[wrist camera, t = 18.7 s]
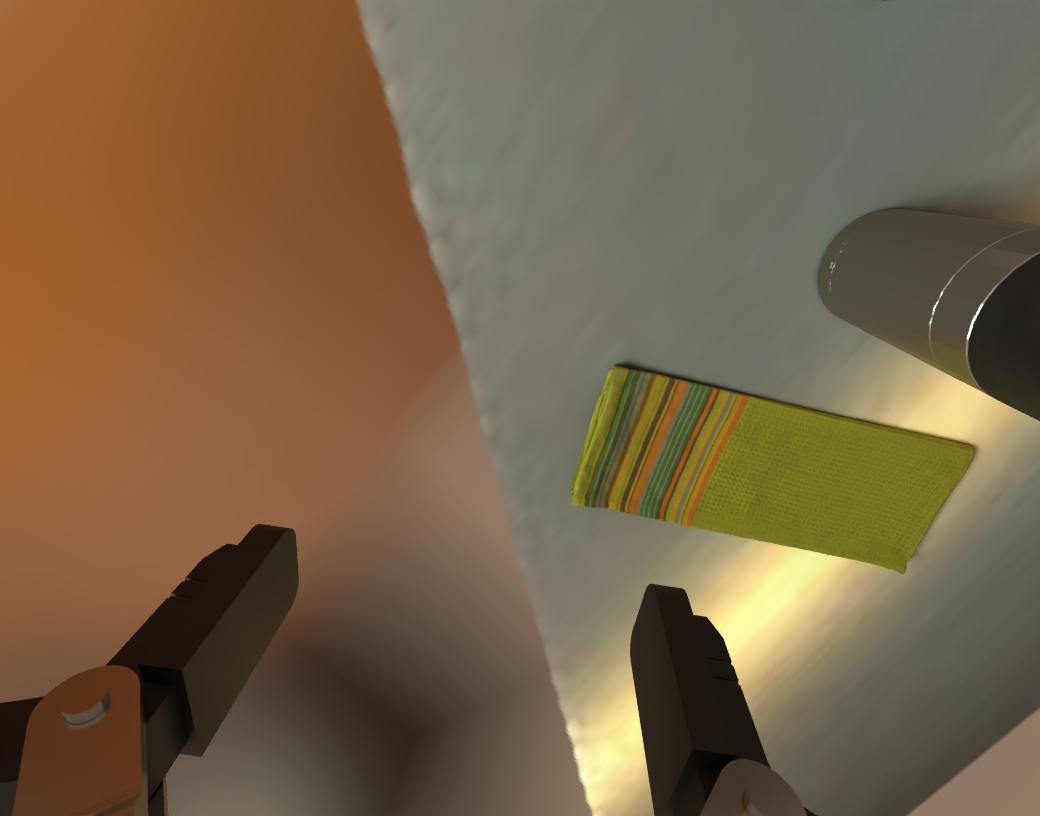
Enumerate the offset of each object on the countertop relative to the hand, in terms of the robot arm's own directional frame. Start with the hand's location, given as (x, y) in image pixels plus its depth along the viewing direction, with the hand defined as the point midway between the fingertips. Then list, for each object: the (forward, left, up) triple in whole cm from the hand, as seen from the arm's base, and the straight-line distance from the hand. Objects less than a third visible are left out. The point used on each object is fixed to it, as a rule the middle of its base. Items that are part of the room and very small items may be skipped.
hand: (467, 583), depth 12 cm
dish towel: (-25, +15, -37) cm, 47 cm away
